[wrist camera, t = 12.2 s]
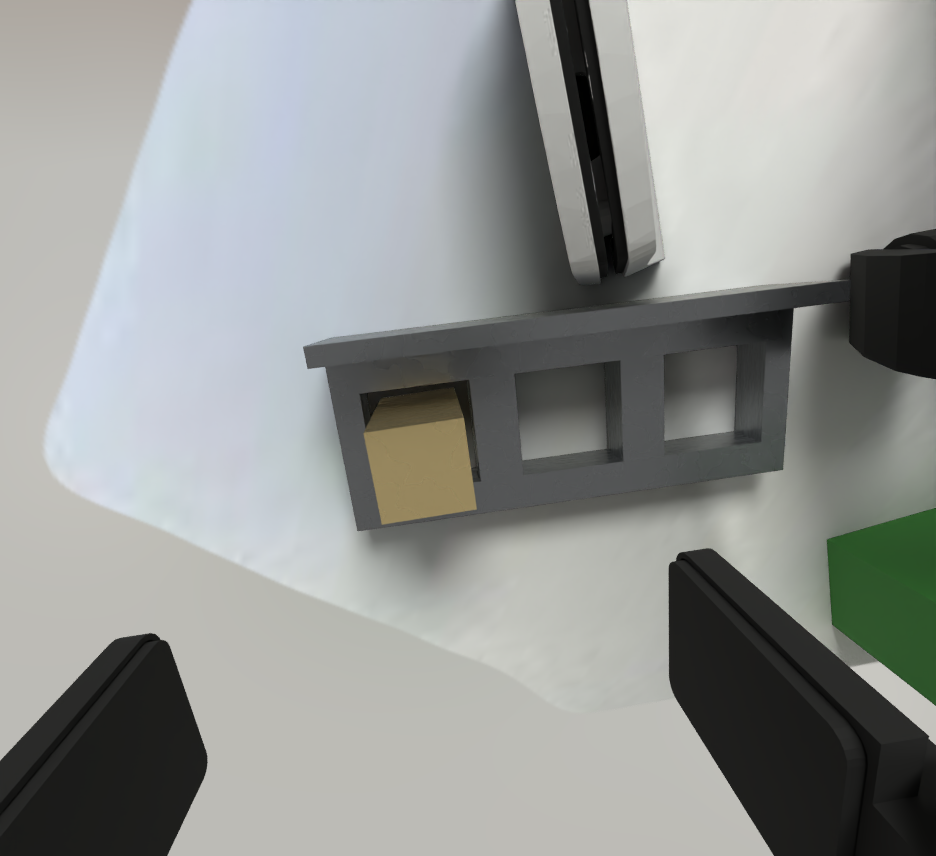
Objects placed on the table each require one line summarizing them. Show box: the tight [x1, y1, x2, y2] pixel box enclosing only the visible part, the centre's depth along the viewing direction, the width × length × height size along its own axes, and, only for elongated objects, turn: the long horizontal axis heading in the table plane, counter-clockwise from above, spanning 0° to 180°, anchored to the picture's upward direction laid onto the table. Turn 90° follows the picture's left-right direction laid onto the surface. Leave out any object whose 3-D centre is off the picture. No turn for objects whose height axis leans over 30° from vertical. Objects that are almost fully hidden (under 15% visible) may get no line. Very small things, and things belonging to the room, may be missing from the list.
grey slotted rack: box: [303, 280, 851, 531], centre depth 26 cm, size 26×11×6 cm, turn 97°
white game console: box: [515, 0, 665, 285], centre depth 21 cm, size 17×5×10 cm, turn 15°
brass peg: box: [363, 387, 477, 525], centre depth 25 cm, size 4×4×8 cm
